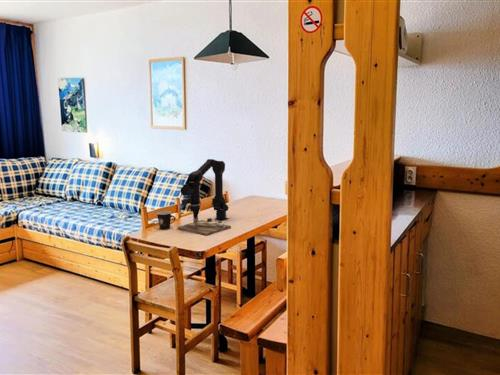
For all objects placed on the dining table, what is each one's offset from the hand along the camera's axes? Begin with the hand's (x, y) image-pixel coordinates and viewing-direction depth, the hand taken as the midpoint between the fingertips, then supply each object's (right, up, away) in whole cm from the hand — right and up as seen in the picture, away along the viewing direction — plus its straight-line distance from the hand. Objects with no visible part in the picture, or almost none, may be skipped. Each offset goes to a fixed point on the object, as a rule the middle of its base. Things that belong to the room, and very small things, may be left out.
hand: (195, 218), depth 276 cm
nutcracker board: (+5, -7, 0) cm, 9 cm away
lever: (+8, -4, -2) cm, 10 cm away
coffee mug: (-19, -7, +2) cm, 20 cm away
